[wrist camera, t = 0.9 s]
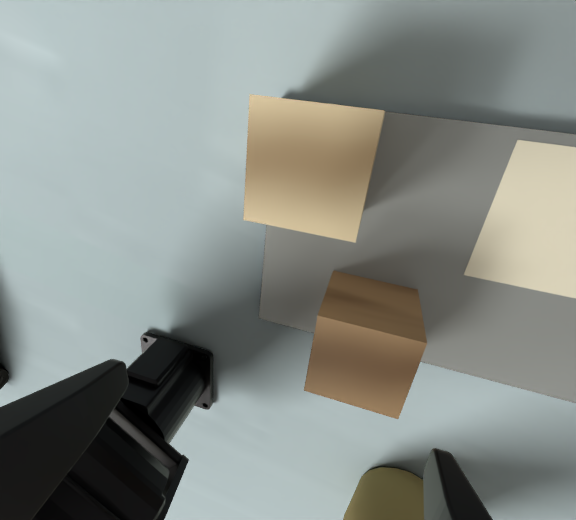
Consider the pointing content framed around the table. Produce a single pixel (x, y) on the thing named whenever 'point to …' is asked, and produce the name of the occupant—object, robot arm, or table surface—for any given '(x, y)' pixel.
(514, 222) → the board
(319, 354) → the block
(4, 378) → the miniature car
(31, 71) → the table surface
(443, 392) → the table surface
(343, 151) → the block
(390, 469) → the squeeze bottle
